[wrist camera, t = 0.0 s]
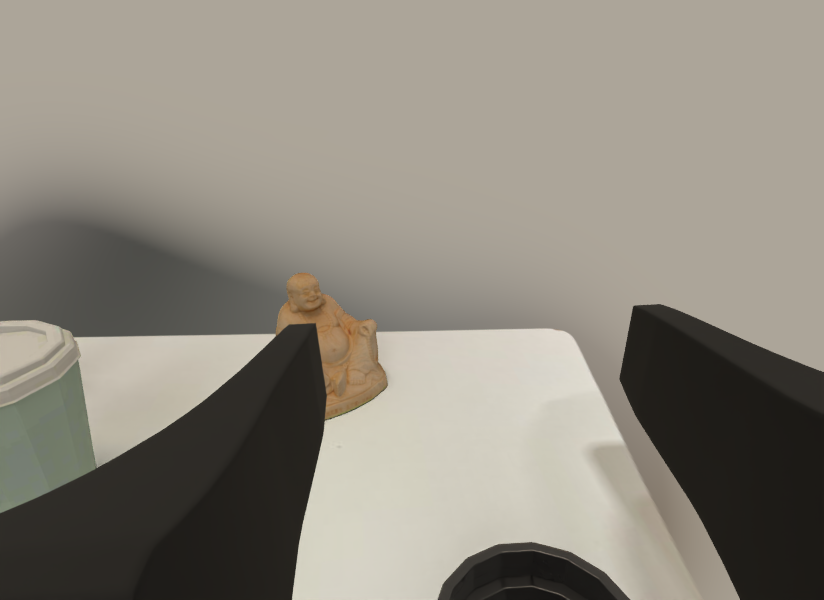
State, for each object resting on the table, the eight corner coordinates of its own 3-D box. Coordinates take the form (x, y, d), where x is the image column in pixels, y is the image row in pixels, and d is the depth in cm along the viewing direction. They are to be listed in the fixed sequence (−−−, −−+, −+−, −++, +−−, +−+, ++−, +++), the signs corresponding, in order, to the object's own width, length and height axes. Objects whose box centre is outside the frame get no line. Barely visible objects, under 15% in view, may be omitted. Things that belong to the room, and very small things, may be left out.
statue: (324, 262, 58) (370, 254, 50) (356, 375, 60) (404, 384, 52) (222, 291, 51) (256, 288, 43) (262, 418, 53) (301, 436, 45)
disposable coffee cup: (136, 455, 44) (85, 298, 38) (121, 550, 34) (50, 362, 29) (-9, 493, 40) (-90, 327, 34) (-70, 610, 31) (-195, 410, 25)
